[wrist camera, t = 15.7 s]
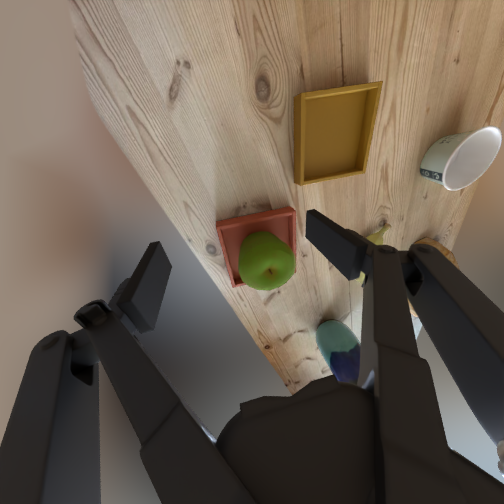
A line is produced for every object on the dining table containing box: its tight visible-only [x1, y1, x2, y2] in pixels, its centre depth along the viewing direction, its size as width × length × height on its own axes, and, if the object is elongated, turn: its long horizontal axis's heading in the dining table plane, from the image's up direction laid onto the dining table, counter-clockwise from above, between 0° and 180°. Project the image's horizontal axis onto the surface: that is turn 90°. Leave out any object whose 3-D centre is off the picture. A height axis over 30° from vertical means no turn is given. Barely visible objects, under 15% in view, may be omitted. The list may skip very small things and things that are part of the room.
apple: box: [238, 231, 296, 290], centre depth 40 cm, size 12×12×11 cm
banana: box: [356, 223, 391, 284], centre depth 53 cm, size 14×6×20 cm
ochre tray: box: [294, 81, 383, 186], centre depth 34 cm, size 14×14×3 cm
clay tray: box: [216, 206, 296, 288], centre depth 44 cm, size 18×18×3 cm
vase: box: [316, 320, 361, 385], centre depth 58 cm, size 14×14×31 cm
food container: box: [420, 126, 502, 190], centre depth 40 cm, size 12×12×6 cm
